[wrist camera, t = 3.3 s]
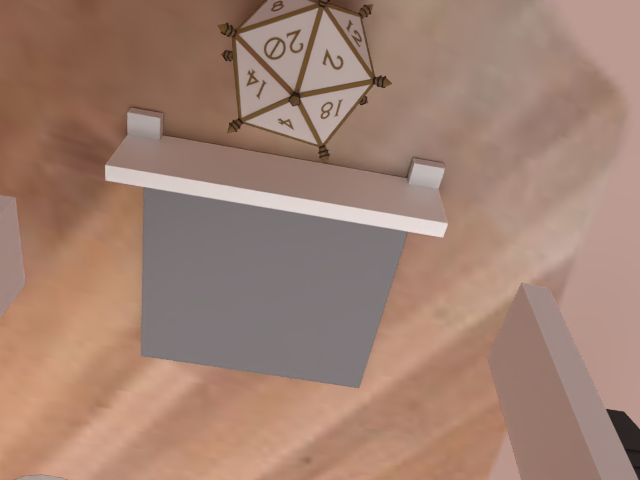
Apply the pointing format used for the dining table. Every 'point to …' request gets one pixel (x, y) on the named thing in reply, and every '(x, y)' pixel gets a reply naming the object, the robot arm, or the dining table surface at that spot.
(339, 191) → the divider wall
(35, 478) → the lantern
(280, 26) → the game die
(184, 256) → the mat
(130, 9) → the dining table surface
